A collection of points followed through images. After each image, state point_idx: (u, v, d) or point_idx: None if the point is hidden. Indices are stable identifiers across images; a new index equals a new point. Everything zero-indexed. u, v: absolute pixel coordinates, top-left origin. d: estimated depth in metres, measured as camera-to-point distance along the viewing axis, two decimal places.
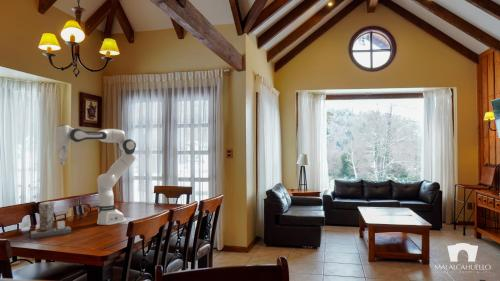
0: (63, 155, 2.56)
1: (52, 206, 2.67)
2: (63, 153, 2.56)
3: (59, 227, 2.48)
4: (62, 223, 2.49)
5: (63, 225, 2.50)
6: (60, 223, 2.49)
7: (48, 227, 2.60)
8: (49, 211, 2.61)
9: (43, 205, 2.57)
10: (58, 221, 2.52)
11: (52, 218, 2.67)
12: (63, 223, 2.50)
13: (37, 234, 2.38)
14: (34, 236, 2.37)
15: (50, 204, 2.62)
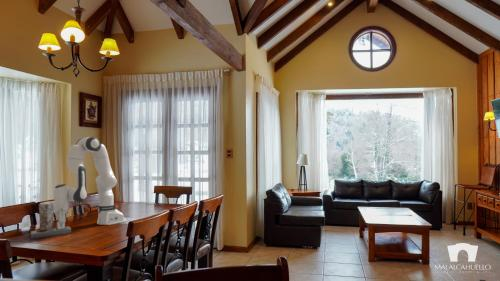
0: (61, 219, 2.42)
1: (52, 206, 2.67)
2: (61, 217, 2.42)
3: (59, 227, 2.48)
4: None
5: (63, 225, 2.50)
6: None
7: (48, 227, 2.60)
8: (49, 211, 2.61)
9: (43, 205, 2.57)
10: (58, 221, 2.52)
11: (52, 218, 2.67)
12: (63, 223, 2.50)
13: (37, 234, 2.38)
14: (34, 236, 2.37)
15: (50, 204, 2.62)
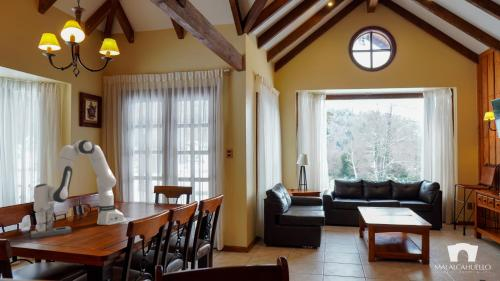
0: (41, 219, 2.35)
1: (52, 206, 2.67)
2: (41, 217, 2.35)
3: (39, 230, 2.41)
4: None
5: (44, 227, 2.43)
6: None
7: (48, 227, 2.60)
8: (49, 211, 2.61)
9: None
10: None
11: (52, 218, 2.67)
12: (44, 225, 2.43)
13: (37, 234, 2.38)
14: (34, 236, 2.37)
15: (50, 204, 2.62)
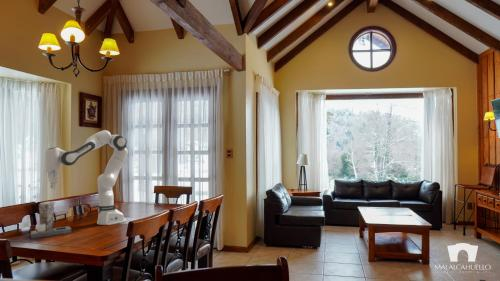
0: (53, 179, 2.47)
1: (52, 206, 2.67)
2: (53, 177, 2.47)
3: (39, 230, 2.41)
4: (42, 225, 2.42)
5: (44, 227, 2.43)
6: (40, 225, 2.42)
7: (48, 227, 2.60)
8: (49, 211, 2.61)
9: (43, 205, 2.57)
10: None
11: (52, 218, 2.67)
12: (44, 225, 2.43)
13: (37, 234, 2.38)
14: (34, 236, 2.37)
15: (50, 204, 2.62)
